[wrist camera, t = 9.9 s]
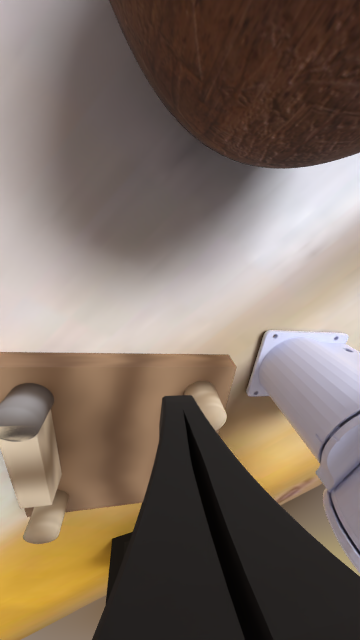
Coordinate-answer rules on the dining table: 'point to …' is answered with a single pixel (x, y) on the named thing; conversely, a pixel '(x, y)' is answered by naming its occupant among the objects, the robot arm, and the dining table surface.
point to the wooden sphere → (254, 74)
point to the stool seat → (110, 420)
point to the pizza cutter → (30, 444)
